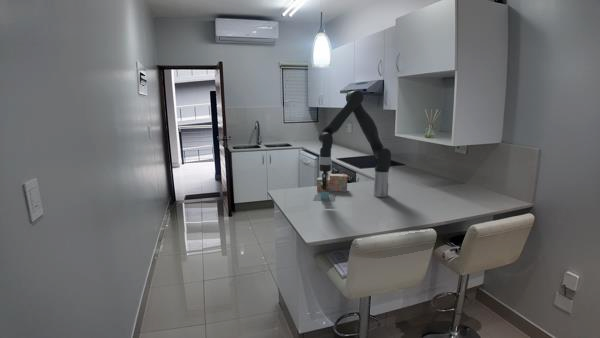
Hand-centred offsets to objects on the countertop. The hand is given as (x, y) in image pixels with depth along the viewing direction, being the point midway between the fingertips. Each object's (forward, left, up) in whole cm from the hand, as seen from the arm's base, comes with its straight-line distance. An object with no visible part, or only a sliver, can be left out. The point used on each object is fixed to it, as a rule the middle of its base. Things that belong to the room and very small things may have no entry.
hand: (325, 187), depth 214 cm
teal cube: (0, 0, -7) cm, 7 cm away
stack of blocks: (-3, -21, -8) cm, 23 cm away
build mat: (0, 0, -8) cm, 8 cm away
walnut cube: (0, 0, -2) cm, 2 cm away
